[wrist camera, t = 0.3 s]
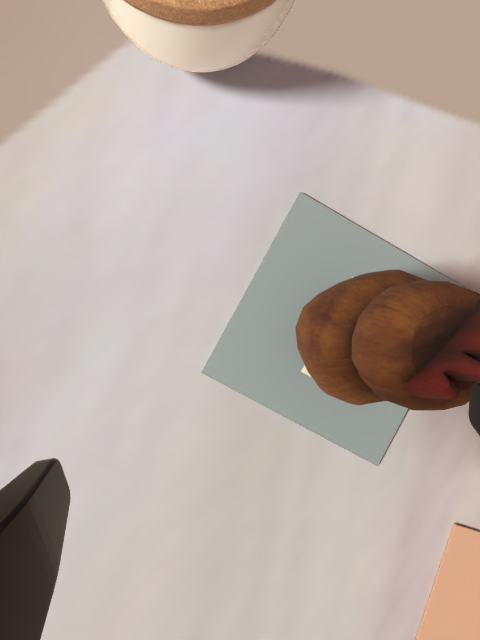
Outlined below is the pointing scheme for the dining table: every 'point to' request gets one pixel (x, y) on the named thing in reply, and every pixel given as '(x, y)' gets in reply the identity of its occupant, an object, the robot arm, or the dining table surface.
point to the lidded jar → (199, 29)
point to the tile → (455, 591)
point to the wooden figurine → (393, 341)
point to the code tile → (282, 316)
